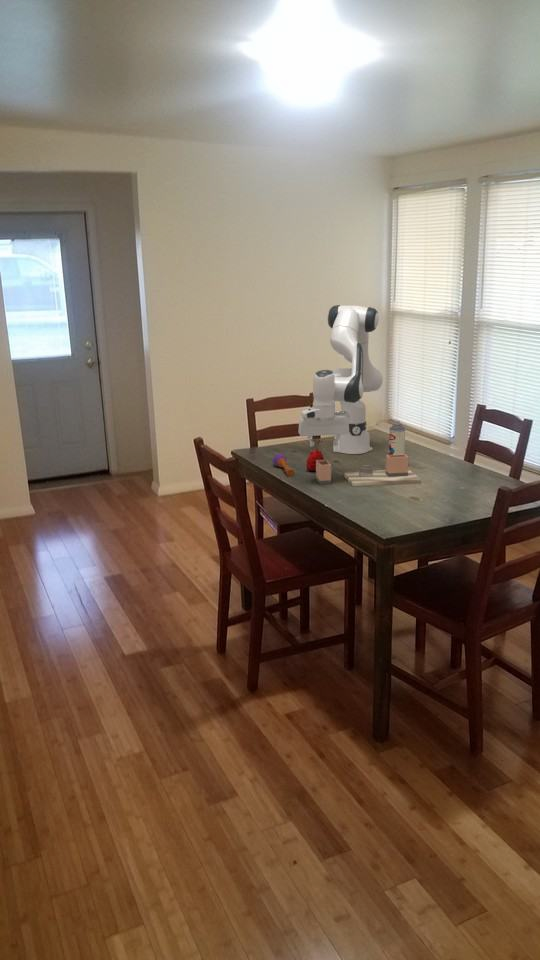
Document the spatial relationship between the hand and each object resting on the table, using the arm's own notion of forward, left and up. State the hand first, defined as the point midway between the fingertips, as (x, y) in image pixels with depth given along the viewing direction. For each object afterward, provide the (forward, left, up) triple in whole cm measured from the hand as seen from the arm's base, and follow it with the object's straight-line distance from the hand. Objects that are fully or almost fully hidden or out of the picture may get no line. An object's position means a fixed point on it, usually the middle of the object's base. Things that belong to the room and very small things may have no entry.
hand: (323, 445), depth 297 cm
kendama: (-20, -13, -15) cm, 29 cm away
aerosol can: (-18, +36, -15) cm, 43 cm away
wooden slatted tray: (+1, +24, -15) cm, 28 cm away
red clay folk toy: (-17, 0, -15) cm, 23 cm away
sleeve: (0, 0, -15) cm, 15 cm away
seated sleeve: (+1, +31, -14) cm, 33 cm away
